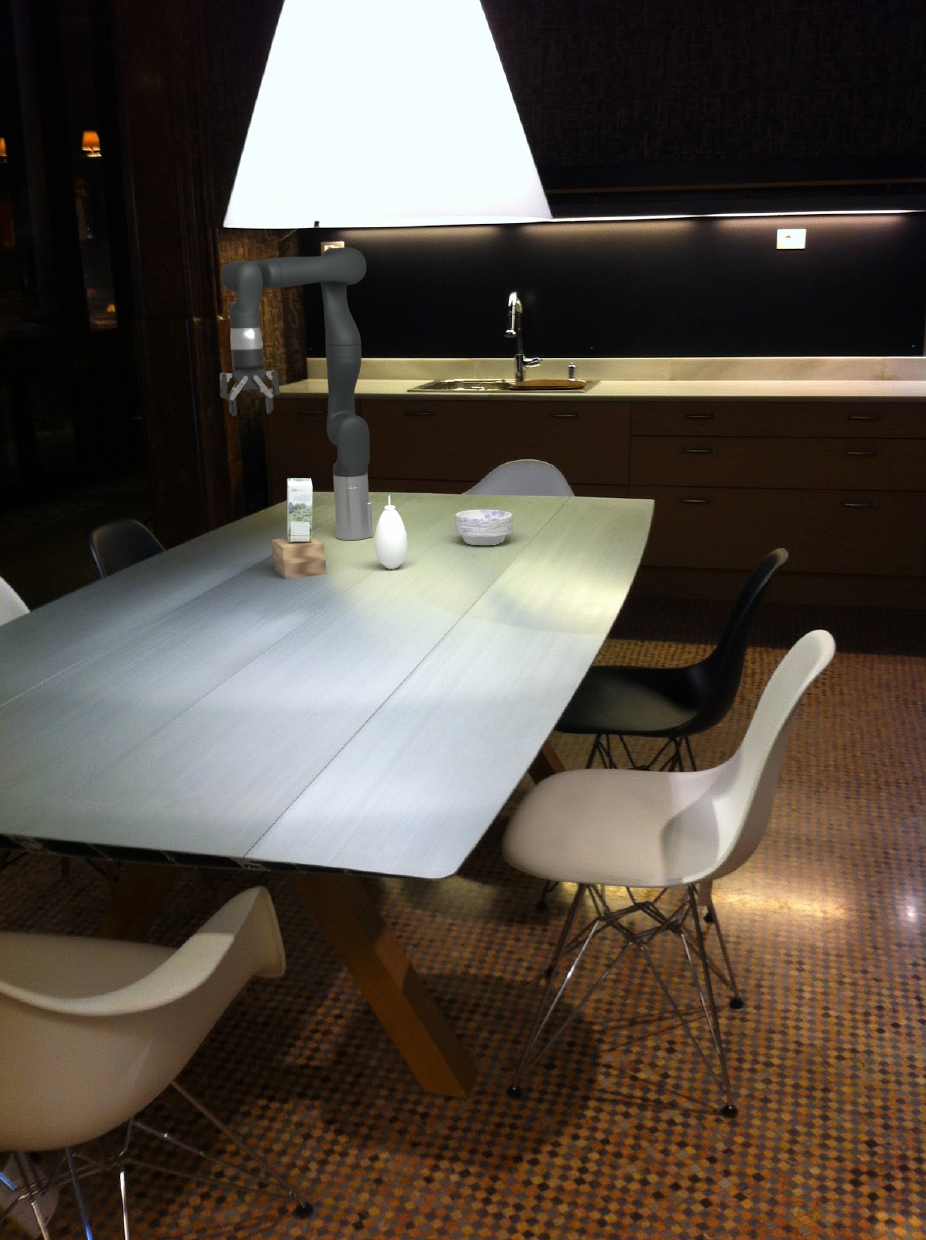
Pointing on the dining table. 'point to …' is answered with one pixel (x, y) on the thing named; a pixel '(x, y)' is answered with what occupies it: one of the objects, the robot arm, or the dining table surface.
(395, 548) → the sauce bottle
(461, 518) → the paper bowls
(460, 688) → the dining table surface
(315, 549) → the tower top block
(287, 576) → the tower base block
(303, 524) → the syrup box
